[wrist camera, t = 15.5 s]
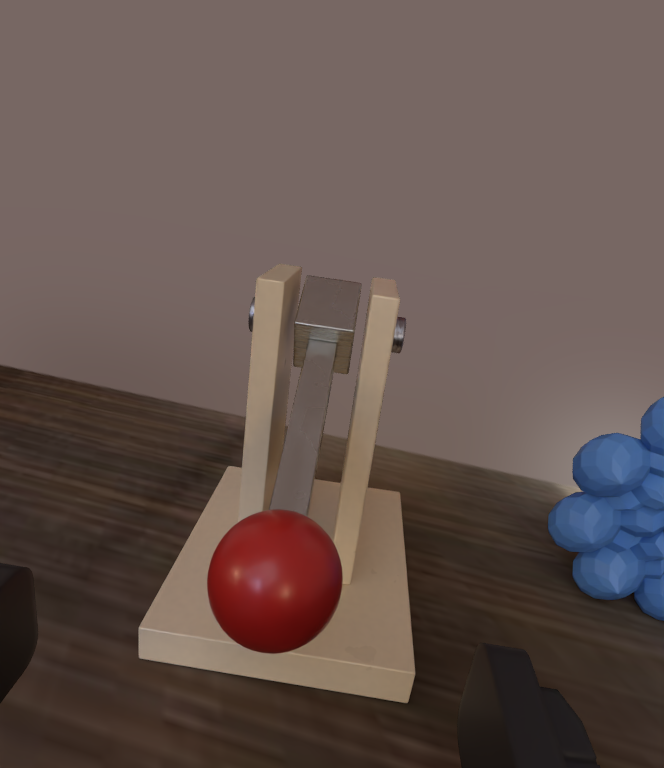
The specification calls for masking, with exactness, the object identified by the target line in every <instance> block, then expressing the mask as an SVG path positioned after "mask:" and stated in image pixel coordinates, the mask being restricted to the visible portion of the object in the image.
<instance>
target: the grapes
mask: <svg viewBox="0 0 664 768" xmlns="http://www.w3.org/2000/svg"><path fill="white" fill-rule="evenodd" d="M573 479H574V481H575V482H576V483H577V485H578V486H579V488H580V489H581V491H584V492H575V493H573V494H571V495H570V496H568V497H566V498H564V499H562V500H561V501H559V502H558V503H556V505H555V506H554V508H553V509H552V510H551V512H550V513H549V518H548V531H549V534H550V535H551V537H552V538H553V540H554V541H555V543H556V545H558V546H560V547H562V548H564V549H566V550H568V551H570V552H579V553H578V555H577V556H576V558H575V559H574V561H573V579H574V581H575V582H576V584H577V585H578V587H579V589H580V590H581V591H582V592H584V593H586V594H587V595H589V596H591V597H593V598H595V599H604V600H617V599H620V598H623V597H626V596H628V595H630V594H631V593H633V592H634V599H635V601H636V602H637V604H638V605H639V607H640V608H641V610H642V611H643V612H644V613H646V614H648V615H650V616H652V617H654V618H655V619H657V620H663V621H664V397H663V398H660V399H659V400H658V401H656V402H655V403H654V404H652V405H651V406H650V407H649V408H648V410H647V411H646V413H645V414H644V416H643V417H642V419H641V440H640V439H637V438H634V437H631V436H628V435H624V434H620V433H612V434H606V435H601V436H599V437H597V438H595V439H592V440H590V441H589V442H588V443H587V444H585V445H584V446H582V447H581V449H580V450H579V451H578V453H577V454H576V455H575V457H574V458H573Z"/></svg>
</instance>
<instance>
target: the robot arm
mask: <svg viewBox="0 0 664 768" xmlns="http://www.w3.org/2000/svg"><path fill="white" fill-rule="evenodd" d="M37 639H38V623H37V612H36V601H35V590H34V579H33V574H32V571H31V570H30V569H29V568H27V567H21V566H15V565H9V564H2V563H0V703H1V702H2V700H3V699H4V698H5V696H6V695H7V694H8V692H9V691H10V690H11V688H12V687H13V686H14V684H15V683H16V682H17V680H18V679H19V678H20V676H21V675H22V674H23V672H24V671H25V669H26V668H27V666H28V664H29V662H30V660H31V658H32V656H33V654H34V651H35V648H36V644H37ZM458 745H459V752H460V759H461V765H462V768H600V765H597V763H596V755H595V753H594V750H593V748H592V745H591V743H590V740H589V738H588V735H587V733H586V730H585V728H584V725H583V723H582V721H581V720H580V718H579V717H578V716H577V714H576V713H575V712H574V711H573V709H572V708H571V707H570V705H569V704H568V703H567V701H566V700H565V699H564V698H563V696H562V695H561V694H560V692H559V691H558V690H556V689H550V688H544V687H540V686H539V683H538V680H537V677H536V674H535V671H534V669H533V666H532V663H531V660H530V657H529V655H528V653H527V652H526V651H525V650H523V649H517V648H511V647H505V646H499V645H492V644H486V643H479V645H478V646H477V648H476V651H475V654H474V658H473V661H472V664H471V668H470V671H469V675H468V678H467V681H466V685H465V688H464V692H463V695H462V698H461V702H460V706H459V712H458Z"/></svg>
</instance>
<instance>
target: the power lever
mask: <svg viewBox="0 0 664 768" xmlns="http://www.w3.org/2000/svg"><path fill="white" fill-rule="evenodd" d="M360 292H361V283H357V282H351V281H343V280H336V279H329V278H322V277H315V276H307V277H306V280H305V284H304V288H303V292H302V296H301V299H300V303H299V306H298V310H297V314H296V318H295V321H294V359H293V360H294V361H293V364H294V366H295V367H301V368H302V369H301V373H300V377H299V382H298V386H297V390H296V395H295V400H294V403H293V408H292V412H291V416H290V420H289V425H288V429H287V433H286V438H285V442H284V446H283V451H282V455H281V459H280V464H279V468H278V472H277V476H276V481H275V485H274V489H273V494H272V498H271V502H270V507H269V510H266V511H261V512H258V513H255V514H252V515H250V516H248V517H246V518H244V519H242V520H241V521H239V522H238V523H237V524H235V525H234V526H233V527H232V528H231V529H230V530H229V531H228V532H227V533H226V534H225V535H224V537H223V538H222V539H221V541H220V542H219V544H218V545H217V547H216V549H215V551H214V553H213V556H212V559H211V561H210V566H209V570H208V576H207V592H208V598H209V604H210V607H211V610H212V613H213V615H214V617H215V619H216V621H217V622H218V624H219V625H220V627H221V628H222V630H223V631H224V632H225V633H226V634H227V635H228V636H229V637H230V638H231V639H232V640H234V641H235V642H236V643H238V644H240V645H241V646H243V647H245V648H247V649H250V650H252V651H256V652H261V653H269V654H276V653H284V652H289V651H292V650H295V649H298V648H300V647H302V646H304V645H306V644H307V643H309V642H310V641H312V640H313V639H315V638H316V637H317V636H318V635H319V634H320V633H321V632H322V631H323V630H324V629H325V627H326V626H327V625H328V624H329V622H330V620H331V619H332V617H333V615H334V613H335V611H336V609H337V607H338V604H339V601H340V598H341V592H342V582H343V573H342V565H341V560H340V557H339V554H338V551H337V549H336V547H335V545H334V543H333V541H332V539H331V538H330V536H329V535H328V534H327V533H326V532H325V530H324V529H323V528H322V527H321V526H320V525H319V524H317V523H316V522H315V521H313V520H312V519H310V518H309V517H308V515H309V509H310V503H311V498H312V492H313V486H314V481H315V475H316V469H317V464H318V458H319V452H320V447H321V441H322V435H323V430H324V423H325V418H326V413H327V407H328V401H329V395H330V390H331V384H332V379H333V373H334V372H336V373H342V374H348V372H349V366H350V358H351V353H352V346H353V339H354V333H355V326H356V319H357V312H358V305H359V299H360Z"/></svg>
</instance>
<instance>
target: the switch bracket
mask: <svg viewBox="0 0 664 768" xmlns="http://www.w3.org/2000/svg"><path fill="white" fill-rule="evenodd" d="M301 272H302V267H299V266H292V265H284V264H278V265H277V266H275V267H274V268H272V269H271V270H269V271H268V272H266V273H265V274H263V275H262V276H260V277H259V278H257V280H256V292H255V293H256V294H255V297H254V298H253V300H252V302H251V306H250V311H249V329H250V331H251V332H252V345H251V358H250V371H249V384H248V397H247V411H246V423H245V436H244V449H243V462H242V468H239V467H233V466H228V468H227V470H226V472H225V473H224V475H223V477H222V479H221V481H220V482H219V484H218V486H217V488H216V490H215V491H214V493H213V495H212V497H211V499H210V500H209V502H208V504H207V506H206V508H205V509H204V511H203V513H202V515H201V517H200V518H199V520H198V522H197V524H196V526H195V527H194V529H193V531H192V533H191V535H190V536H189V538H188V540H187V542H186V544H185V545H184V547H183V549H182V551H181V553H180V554H179V556H178V558H177V560H176V562H175V563H174V565H173V567H172V569H171V571H170V572H169V574H168V576H167V578H166V580H165V581H164V583H163V585H162V587H161V589H160V590H159V592H158V594H157V596H156V598H155V599H154V601H153V603H152V605H151V607H150V608H149V610H148V612H147V614H146V616H145V617H144V619H143V621H142V623H141V625H140V626H139V658H140V659H146V660H152V661H158V662H164V663H170V664H176V665H182V666H188V667H194V668H199V669H205V670H211V671H217V672H223V673H229V674H235V675H241V676H247V677H253V678H259V679H265V680H271V681H277V682H283V683H289V684H295V685H301V686H307V687H313V688H319V689H325V690H331V691H337V692H343V693H349V694H355V695H361V696H367V697H373V698H379V699H384V700H390V701H396V702H402V703H408V701H409V697H410V693H411V689H412V685H413V681H414V677H415V663H414V651H413V639H412V628H411V616H410V604H409V592H408V580H407V569H406V557H405V545H404V533H403V521H402V510H401V498H400V492H395V491H388V490H382V489H375V488H369V487H368V482H369V476H370V471H371V465H372V459H373V453H374V448H375V442H376V436H377V431H378V424H379V418H380V413H381V408H382V402H383V396H384V391H385V385H386V378H387V373H388V368H389V361H390V356H391V352H395V353H400V352H401V350H402V346H403V341H404V336H405V328H406V319H405V318H402V317H397V316H398V310H399V305H400V298H399V294H398V290H397V286H396V282H395V280H390V279H382V278H376V277H375V278H373V279H372V283H371V290H370V296H369V303H368V309H367V315H366V322H365V328H364V335H363V341H362V348H361V354H360V361H359V367H358V374H357V380H356V387H355V393H354V400H353V406H352V414H351V419H350V426H349V433H348V439H347V445H346V452H345V458H344V465H343V471H342V478H341V483H336V482H330V481H323V480H317V479H315V481H314V486H313V492H312V498H311V503H310V509H309V515H308V517H309V518H310V519H312V520H313V521H315V522H316V523H317V524H319V525H320V526H321V527H322V528H323V529H324V530H325V532H326V533H327V534H328V535H329V536H330V538H331V539H332V541H333V543H334V545H335V547H336V549H337V551H338V554H339V557H340V560H341V565H342V573H343V582H342V592H341V598H340V601H339V604H338V607H337V609H336V611H335V613H334V615H333V617H332V619H331V620H330V622H329V624H328V625H327V626H326V627H325V629H324V630H323V631H322V632H321V633H320V634H319V635H318V636H317V637H316V638H315V639H313V640H312V641H310V642H309V643H307V644H306V645H304V646H302V647H300V648H298V649H295V650H292V651H289V652H284V653H276V654H269V653H261V652H256V651H252V650H250V649H247V648H245V647H243V646H241V645H240V644H238V643H236V642H235V641H234V640H232V639H231V638H230V637H229V636H228V635H227V634H226V633H225V632H224V631H223V630H222V628H221V627H220V625H219V624H218V622H217V621H216V619H215V617H214V615H213V613H212V610H211V607H210V604H209V598H208V592H207V576H208V570H209V566H210V561H211V559H212V556H213V553H214V551H215V549H216V547H217V545H218V544H219V542H220V541H221V539H222V538H223V537H224V535H225V534H226V533H227V532H228V531H229V530H230V529H231V528H232V527H233V526H234V525H235V524H237V523H238V522H239V521H241V520H242V519H244V518H246V517H248V516H250V515H252V514H255V513H258V512H261V511H266V510H269V507H270V502H271V498H272V494H273V489H274V485H275V481H276V476H277V472H278V468H279V464H280V459H281V455H282V451H283V442H284V432H285V423H286V422H285V421H286V413H287V404H288V394H289V385H290V376H291V366H292V357H293V347H294V321H295V318H296V314H297V310H298V300H299V290H300V280H301Z"/></svg>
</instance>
